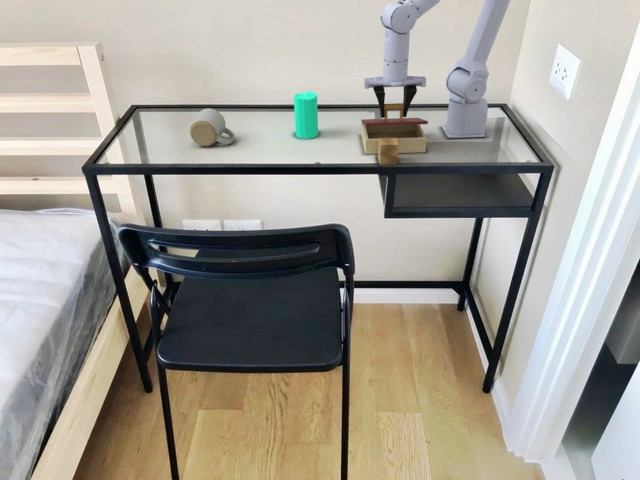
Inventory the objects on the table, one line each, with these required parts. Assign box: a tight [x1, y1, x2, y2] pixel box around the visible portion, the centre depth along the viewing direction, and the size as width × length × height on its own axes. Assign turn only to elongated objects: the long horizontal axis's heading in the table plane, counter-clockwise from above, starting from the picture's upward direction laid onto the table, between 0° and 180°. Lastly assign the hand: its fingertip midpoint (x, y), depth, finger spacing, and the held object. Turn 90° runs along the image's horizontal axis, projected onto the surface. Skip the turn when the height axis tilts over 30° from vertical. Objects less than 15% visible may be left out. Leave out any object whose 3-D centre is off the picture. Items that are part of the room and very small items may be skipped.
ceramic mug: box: [189, 108, 236, 147], centre depth 136 cm, size 11×8×8 cm
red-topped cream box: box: [360, 122, 428, 155], centre depth 133 cm, size 12×15×4 cm
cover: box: [361, 102, 429, 126], centre depth 130 cm, size 13×15×5 cm
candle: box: [293, 91, 319, 140], centre depth 137 cm, size 6×6×12 cm
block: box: [377, 138, 399, 166], centre depth 124 cm, size 4×4×5 cm
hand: (393, 116), depth 130 cm, fingers closed on cover, 5 cm apart
